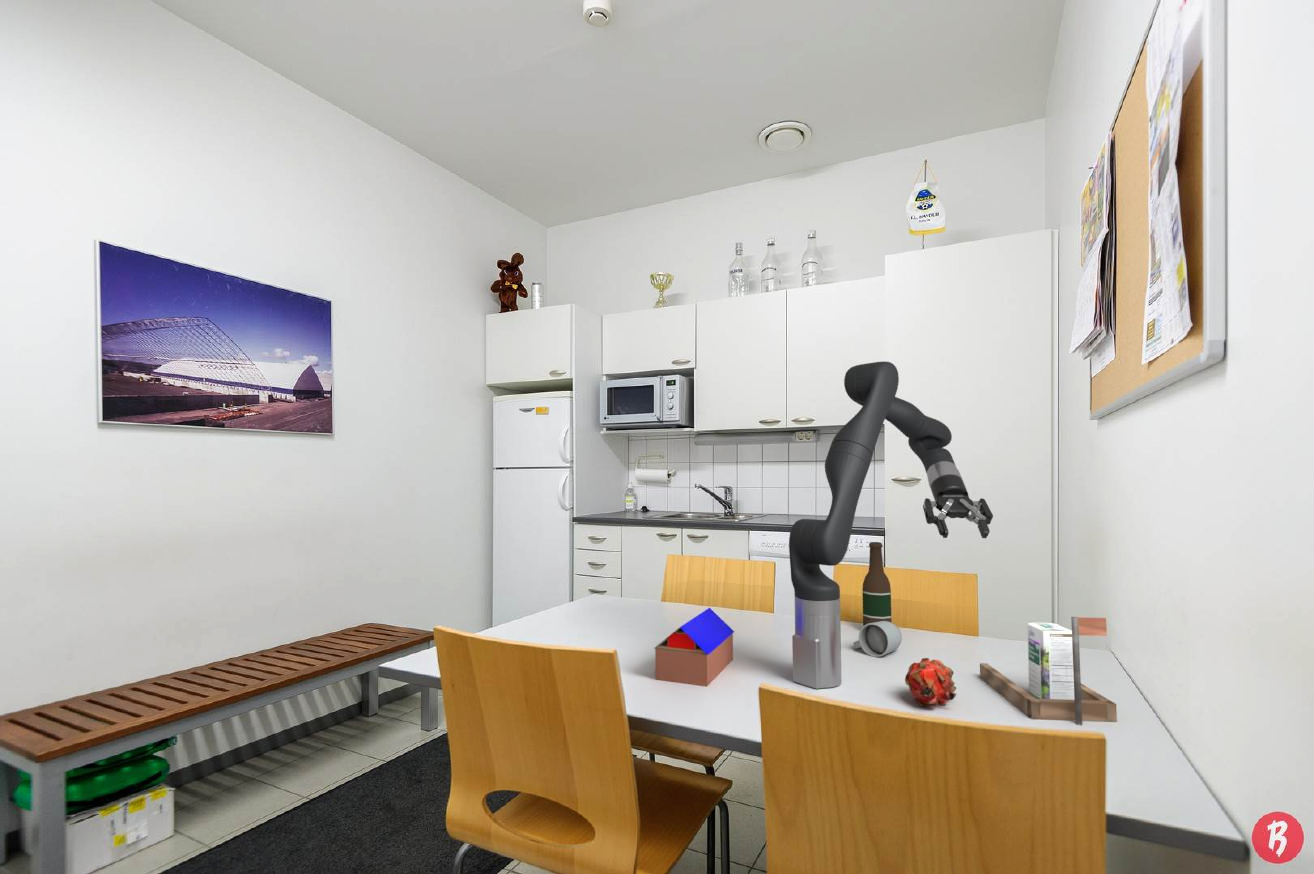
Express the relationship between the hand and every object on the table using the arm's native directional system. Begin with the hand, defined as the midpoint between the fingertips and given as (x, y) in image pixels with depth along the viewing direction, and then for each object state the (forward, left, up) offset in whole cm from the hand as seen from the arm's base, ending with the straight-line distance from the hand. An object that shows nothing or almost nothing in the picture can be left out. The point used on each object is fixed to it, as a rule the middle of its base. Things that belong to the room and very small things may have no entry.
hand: (965, 535), depth 143 cm
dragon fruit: (-29, -6, -29) cm, 41 cm away
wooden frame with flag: (-11, -19, -29) cm, 36 cm away
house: (-49, +37, -29) cm, 68 cm away
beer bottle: (+10, +29, -29) cm, 42 cm away
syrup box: (-13, -21, -29) cm, 38 cm away
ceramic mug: (-7, +19, -29) cm, 35 cm away
